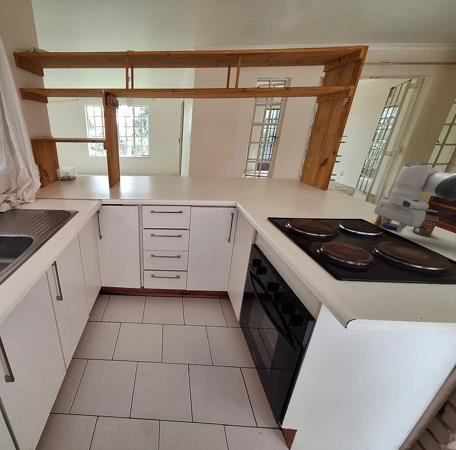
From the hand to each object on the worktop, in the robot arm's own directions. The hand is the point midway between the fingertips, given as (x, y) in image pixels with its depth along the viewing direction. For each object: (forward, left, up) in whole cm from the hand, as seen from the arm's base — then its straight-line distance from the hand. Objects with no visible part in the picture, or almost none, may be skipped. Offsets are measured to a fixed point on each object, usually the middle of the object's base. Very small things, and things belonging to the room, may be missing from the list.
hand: (390, 229), depth 108 cm
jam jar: (-6, -12, -2) cm, 13 cm away
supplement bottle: (-16, -2, -2) cm, 16 cm away
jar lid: (0, 0, +2) cm, 2 cm away
